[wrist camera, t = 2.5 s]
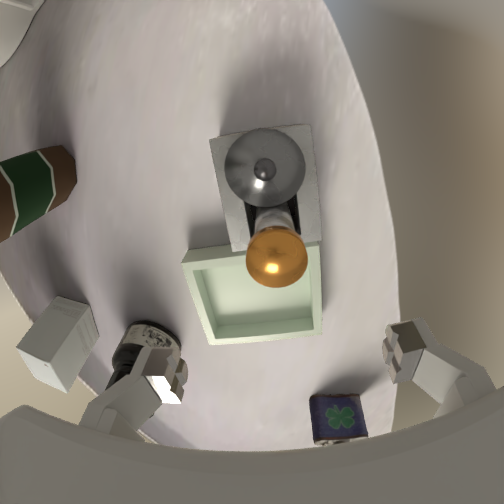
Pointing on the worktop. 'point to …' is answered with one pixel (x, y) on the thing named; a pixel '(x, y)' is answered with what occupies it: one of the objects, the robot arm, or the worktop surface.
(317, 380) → the worktop surface
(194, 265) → the tray
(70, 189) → the beer bottle
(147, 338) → the ink bottle
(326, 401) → the flask
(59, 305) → the supplement box
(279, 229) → the pin
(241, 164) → the block
